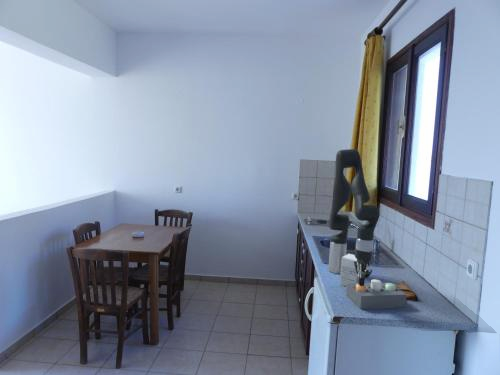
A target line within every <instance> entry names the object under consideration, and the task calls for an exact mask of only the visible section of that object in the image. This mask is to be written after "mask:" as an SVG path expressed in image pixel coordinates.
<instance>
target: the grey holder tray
mask: <svg viewBox="0 0 500 375" xmlns="http://www.w3.org/2000/svg"><path fill="white" fill-rule="evenodd" d="M386 283H387V282H382V285H381V291H372V290H371V282H364V284H365V285H366V292H358V291H357V290H356V284H357V283H355V284H347V287H346V290H345V296H346V297H347V298H348V299H349V300H350V301H351V302H352V303H353V304H354V305H355V306H357V308H358V309H359V310H366V309H367V310H369V309H393V308H406V303H407V302H406V301H407V300H406V294H405V293H403V292H402V291H401V290H399V289H398V288H396V291H388V290H386V289H385V284H386Z"/></svg>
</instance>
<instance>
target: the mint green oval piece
mask: <svg viewBox="0 0 500 375" xmlns="http://www.w3.org/2000/svg"><path fill="white" fill-rule="evenodd" d="M385 283H386V284H385V289H386V290H388V291H396V285H395V284H396V283H393V282H392V283H391V282H385Z"/></svg>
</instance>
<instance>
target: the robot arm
mask: <svg viewBox="0 0 500 375" xmlns="http://www.w3.org/2000/svg"><path fill="white" fill-rule="evenodd" d="M349 168H353V169H354V171H355V173H354V176H353V179H352V182H351V183H350V182H349V180H348V179H347V178H346V176H345V174H344V169H349ZM363 168H364V167H363V163H362V159H361V155H360V152H359V150H358V149H356V148H352V149H351V148H350V149H340V150H338V151H337V153H336V155H335V175H334V176H335V177H334V183H333V189H332V190H333V191H332V199H331V201H332V202H331V210H330V215H329V219H328V227H329V229H330V230H332V231H340V233H338V234H332V235H331V236H330V243H329V244H330V245H329V255H328V256H329V257H328V268H327V270H328V271H329V272H330V273H333V274H338V275H339V274H340V275H341V261H342V257H343V256H345V255H347V250H348V249H347V248H348V246H347V245H348V234H349V226H350V217H349V215H348V214H338V213H339V212H340V211H341V209H342V208H343V207H344V206H346V205H347V204H348V203H349V201H350V200H351V196H353V199H354V216H355V218H356V219H357V220H358V221H361V222H362V221H363V222H365V223H364V224H361V225H359V226H358V227H357V234H356V241H355V250H354V251H355V253H354V255H355V258H356V259H357V261H354V265H355V270H356V273H357V274H358V277H359V281H358V284H359V285H360V286H364V283H365V281H366V280H365V279H369V277H370V275H371V274H372V273H373V269H370V261H372V260H373V251H374V234H375V229H376V226H377V224H378V222H379V219H380V209H379V207H378V206H377V205H375V204H367V203H368V202H369V201H370V200H371V196H370V192H369V189H368V186H367V184H366V180H365V174H364V169H363Z"/></svg>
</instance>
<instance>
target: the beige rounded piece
mask: <svg viewBox="0 0 500 375" xmlns="http://www.w3.org/2000/svg"><path fill="white" fill-rule="evenodd" d="M356 290H357V291H358V292H366V285H365V284H364V286H360V285H359V284H358V283H357V284H356Z"/></svg>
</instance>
